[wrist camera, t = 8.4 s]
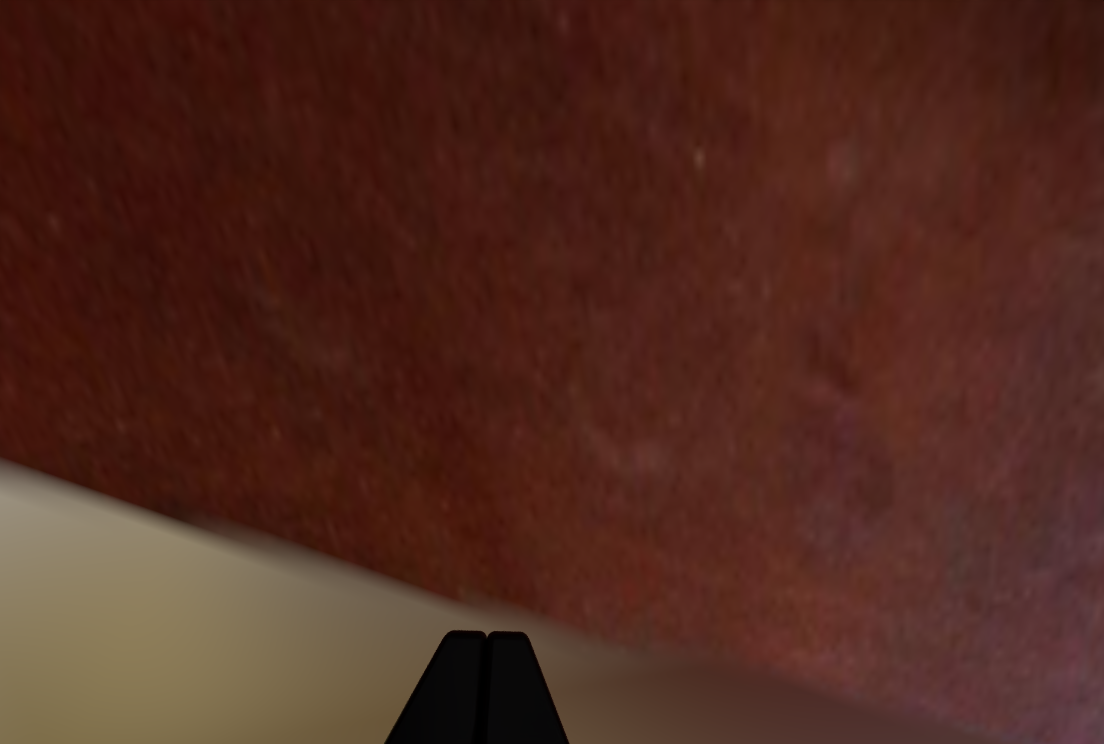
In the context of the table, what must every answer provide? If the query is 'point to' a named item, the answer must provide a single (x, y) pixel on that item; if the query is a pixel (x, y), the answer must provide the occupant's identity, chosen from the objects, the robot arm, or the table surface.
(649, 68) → the table surface
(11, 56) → the table surface
